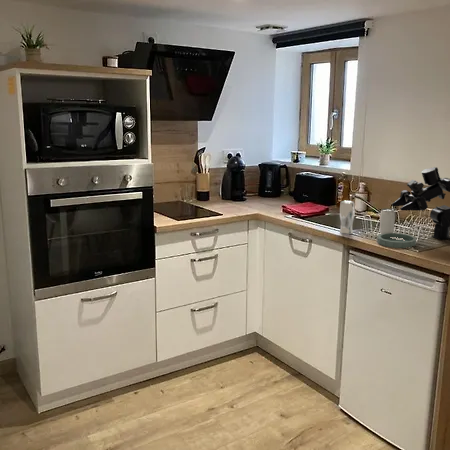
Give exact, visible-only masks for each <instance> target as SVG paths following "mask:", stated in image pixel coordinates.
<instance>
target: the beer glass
mask: <svg viewBox="0 0 450 450" xmlns="http://www.w3.org/2000/svg"><path fill="white" fill-rule="evenodd" d="M355 206H356V205H355V201H352V200H342V201H340V205H339V219H340V229H339V233H340V234H341V235H342V234H343V235H352V234H353V223H354V219H355V213H356V211H355V209H356V207H355Z"/></svg>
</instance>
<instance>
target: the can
mask: <svg viewBox="0 0 450 450" xmlns="http://www.w3.org/2000/svg"><path fill="white" fill-rule="evenodd" d="M379 215H380V216H379V217H380V218H379V232H380V233H382V234H383V233H395V222H396V221H395V219H396V212H395V209H393V208H382V209H381V211H380V214H379ZM379 232H378V233H379Z"/></svg>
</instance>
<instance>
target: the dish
mask: <svg viewBox="0 0 450 450" xmlns="http://www.w3.org/2000/svg"><path fill="white" fill-rule="evenodd" d="M390 237H396V238H397V237H398V238H403V239H404V240H405V241H403V240H396V239H392V238H390ZM417 239H418V238H417V237H416V236H414V235H410V234H407V233H403V232H402V233H401V232H400V233H399V232H394V233H383V234H378V235H377V243H378V245H381V246H384V247H387V248H393V249H394V248H395V249H407V248H406V247H410V248H413V247H412V246H414V247H416V246H417Z"/></svg>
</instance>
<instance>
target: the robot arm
mask: <svg viewBox="0 0 450 450" xmlns="http://www.w3.org/2000/svg"><path fill="white" fill-rule="evenodd" d="M421 175H422V178H423V181H424V183H423V182H422V181H419V182H418V181H416V180H414V179H411V180H410V181H409V182H407V184H406V186H407V187H408V188H409V189H410V190H411V191H409V190H406V189H404V190H400V195H399V197H398V198H397V199H396V200H395V201H393V202H392V203H391V206H392V207H400V208H399V210H400V211H419V212H420V211H421V212H423V211H426V210H427V209H428V203H430V202H431V200H434V199H435V198H437V197H438V198H439V199H442V200H445V197H446V193H444V192H448V193H450V178H449V177H440V173H439V169H438V167H435V166H434V167H430V168H424V169H423V170H421ZM424 184H425V185H428V186H427V187H425V188H424V186H425V185H424ZM429 213H430V214H429V216H430V219H431V220H432V222H433V224H434V229H433V235H430V236H431V238H434V239H438V240H441V241H444V240H449V239H450V206H448V205H441V206H435V208H433V209H431V211H430V212H429Z"/></svg>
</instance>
